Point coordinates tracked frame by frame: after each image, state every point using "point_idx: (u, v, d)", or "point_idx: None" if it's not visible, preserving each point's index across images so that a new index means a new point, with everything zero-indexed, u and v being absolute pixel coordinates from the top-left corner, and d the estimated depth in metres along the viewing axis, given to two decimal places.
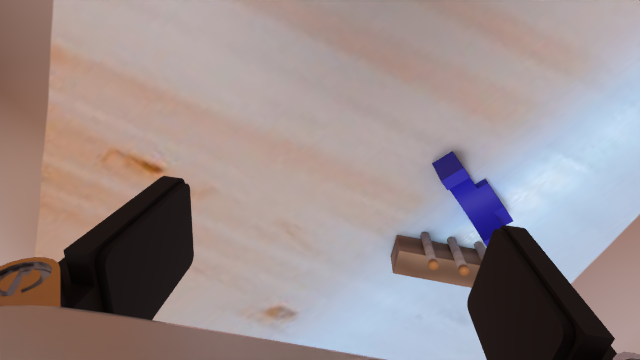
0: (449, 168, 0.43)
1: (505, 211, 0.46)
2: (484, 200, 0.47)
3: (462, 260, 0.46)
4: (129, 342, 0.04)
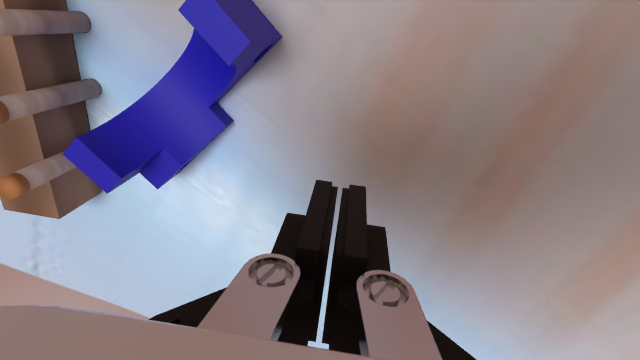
0: (242, 16, 0.16)
1: (172, 170, 0.22)
2: (186, 126, 0.21)
3: (24, 107, 0.18)
4: (129, 342, 0.04)
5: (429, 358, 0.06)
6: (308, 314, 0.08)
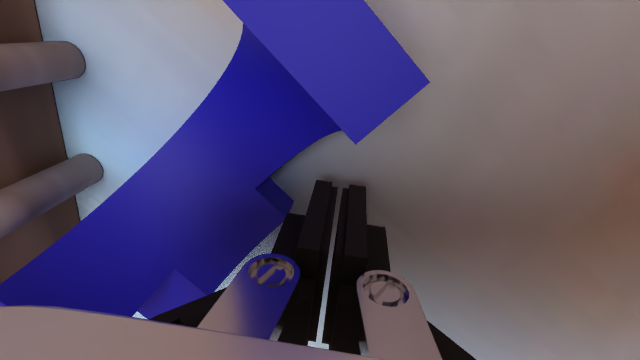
0: None
1: None
2: (214, 223, 0.12)
3: None
4: (129, 342, 0.04)
5: (429, 358, 0.06)
6: (308, 314, 0.08)
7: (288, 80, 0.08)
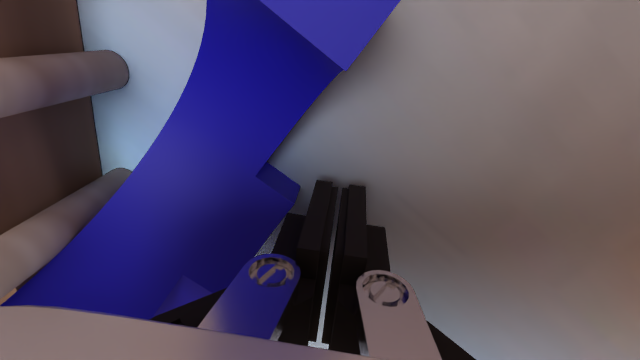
0: None
1: None
2: (218, 221, 0.11)
3: None
4: (129, 342, 0.04)
5: (429, 358, 0.06)
6: (308, 314, 0.08)
7: (265, 34, 0.07)
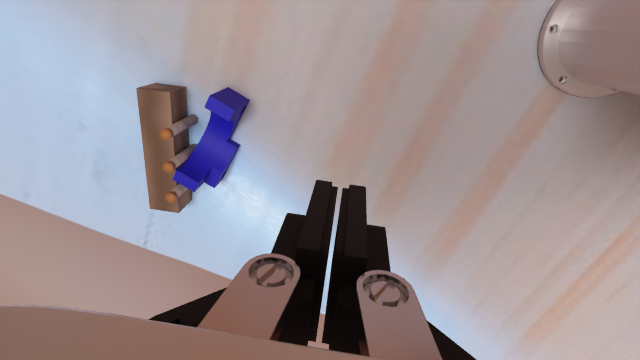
0: (228, 100, 0.39)
1: (218, 176, 0.45)
2: (219, 153, 0.45)
3: (179, 163, 0.41)
4: (129, 342, 0.04)
5: (429, 358, 0.06)
6: (308, 314, 0.08)
7: None
